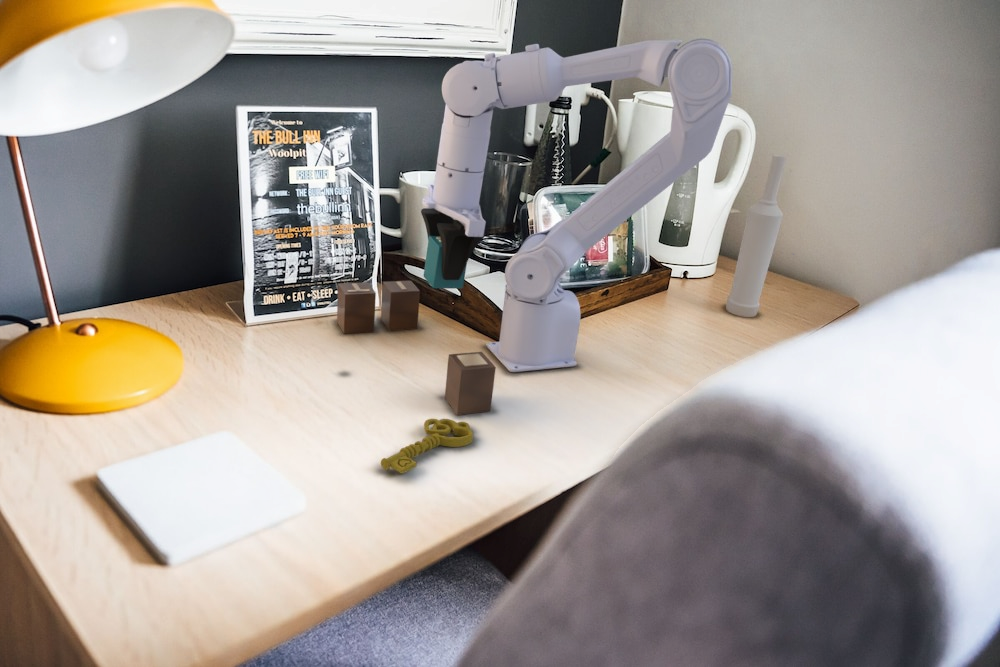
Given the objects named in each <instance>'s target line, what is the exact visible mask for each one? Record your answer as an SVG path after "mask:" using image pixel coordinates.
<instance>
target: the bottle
mask: <svg viewBox="0 0 1000 667" xmlns="http://www.w3.org/2000/svg"><path fill="white" fill-rule="evenodd" d="M787 158H788V156H786V155H783V154H772V156H771V161H770V165H769V170H768V174H767V179H766V183H765V186H764V190H763V194H762V197H761V198H759V201H758V202H756V203H755V204H753V205H752V206H750V207H748V210H747V215H746V221H745V225H744V230H743V233H742V237H741V242H740V248H739V252H738V257H737V262H736V266H735V270H734V276H733V279H732V283H731V289H730V293H729V296H727V297H726V303H725V310H726V311H727V312H728V313H730V314H732V315H735V316H738V317H741V318H742V317H743V318H753V317H756V316H757V315H758V312H759V309H760V305H761V304H760V299H761V295H762V292H763V289H764V285H765V281H766V277H767V274H768V271H769V267H770V263H771V260H772V257H773V253H774V250H775V246H776V242H777V239H778V235H779V230H780V227H781V224H782V221H783V218H784V217H783V216H784V213H783V212H782V210H781V209H780V207H779V206H778V201H777V197H778V192H779V189H780V185H781V180H782V176H783V172H784V170H785V166H786V162H787Z"/></svg>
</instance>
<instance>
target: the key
mask: <svg viewBox="0 0 1000 667" xmlns="http://www.w3.org/2000/svg"><path fill="white" fill-rule="evenodd" d="M431 425H432V427H431V428H430V426H431ZM423 430H424V433H425V434H426V435H428V436H426V437H424V438H422V440H421V441H420V440H418V441H415V442H414V444H413V443H410V444H409V445H406V446H405V447H402V448H400V450H399V452H397V453H395V454H393V455H390V456H389V457H383V458H382V459H381V461H380V465H381V468H382V470H383V469H384V470H386V471H388V470H390V468H392V469H394V470H395V471H396V472H398V473H400V474H404V473H406V472H408V471H411V470H412V469H414V468H416V467H417V466H418V462H416V461H415V460H413V458H416V457H417V456H418V455H422V454H424V453H425V451H430V450H433V449H434V448H436V447H439V446H443V447H450V448H461V447H465V446H467V445H468V446H469V445H470V444H471V443H472V442H473V440H474V433H473V431H472V429H470V424H469V423H468V422H466V421H458V422H457V421H456V420H453V419H450V418H441V419H437V418H427V419H426V420H425V421H424V423H423ZM451 432H452V434H453V436H454V437H453V436H448V435H449V434H451Z"/></svg>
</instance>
